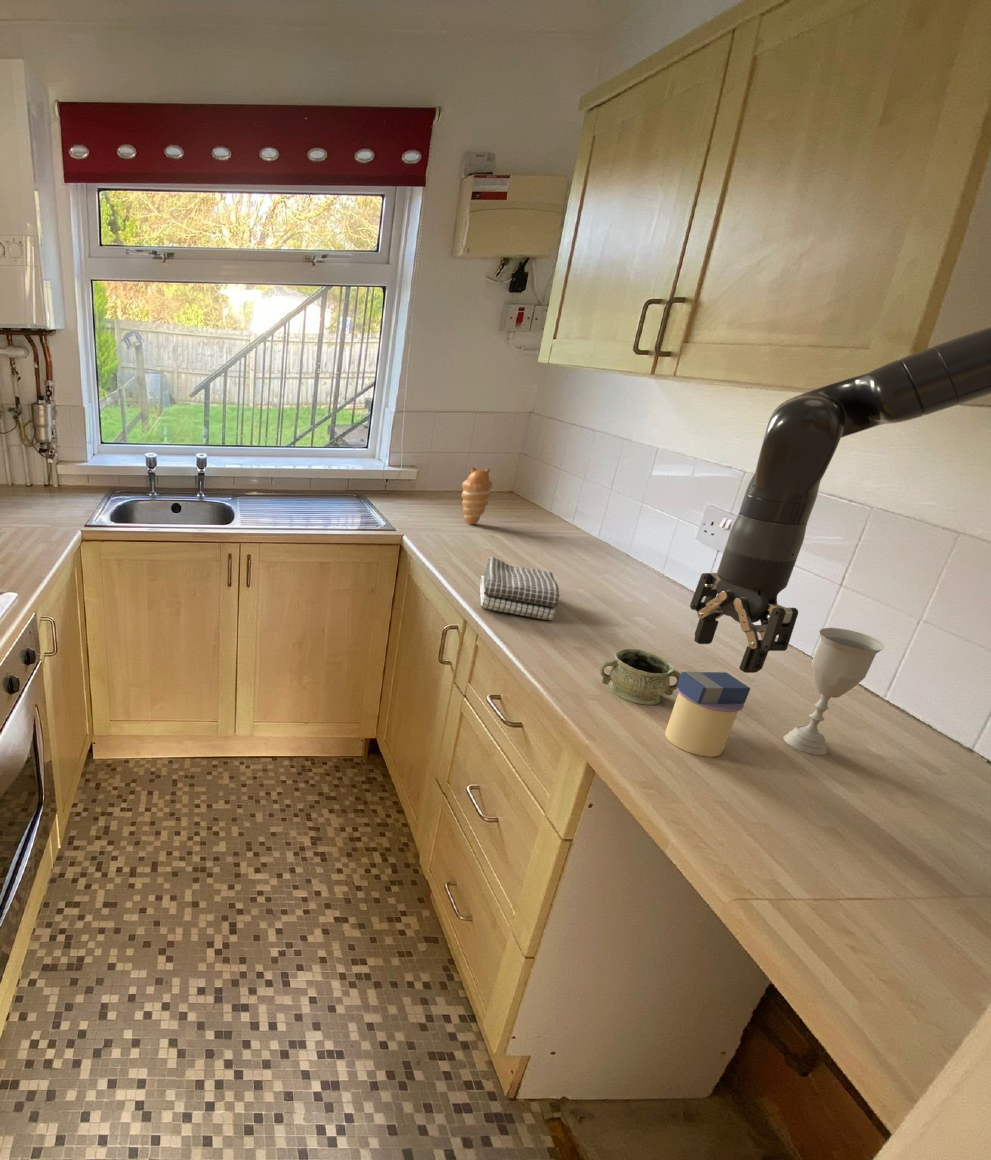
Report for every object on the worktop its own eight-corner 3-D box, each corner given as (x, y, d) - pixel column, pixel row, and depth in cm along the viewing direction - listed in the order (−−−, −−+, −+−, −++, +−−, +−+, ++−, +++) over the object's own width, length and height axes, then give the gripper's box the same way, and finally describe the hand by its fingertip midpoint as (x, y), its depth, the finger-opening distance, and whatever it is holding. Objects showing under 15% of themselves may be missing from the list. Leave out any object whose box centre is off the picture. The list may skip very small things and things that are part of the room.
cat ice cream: (484, 521, 205) (494, 466, 198) (486, 528, 198) (497, 471, 191) (455, 519, 207) (464, 464, 200) (456, 526, 200) (466, 469, 193)
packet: (720, 687, 96) (726, 671, 95) (745, 704, 91) (751, 688, 90) (675, 686, 95) (680, 671, 94) (697, 703, 91) (703, 687, 90)
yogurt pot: (720, 736, 98) (738, 689, 95) (730, 765, 92) (749, 716, 88) (659, 721, 102) (674, 676, 98) (664, 747, 95) (680, 700, 92)
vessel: (668, 687, 111) (678, 655, 109) (682, 713, 104) (694, 680, 101) (591, 673, 115) (600, 642, 113) (599, 698, 108) (609, 665, 105)
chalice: (825, 764, 92) (876, 655, 85) (768, 740, 97) (811, 635, 91) (841, 748, 96) (891, 641, 89) (785, 725, 101) (829, 623, 94)
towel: (479, 613, 139) (485, 579, 136) (478, 583, 155) (484, 553, 152) (555, 624, 134) (564, 590, 131) (547, 593, 150) (554, 562, 147)
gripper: (838, 568, 78) (792, 682, 84) (746, 533, 92) (712, 634, 98) (779, 568, 78) (737, 682, 84) (695, 533, 92) (664, 634, 97)
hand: (724, 656), depth 91 cm, fingers open, 8 cm apart
